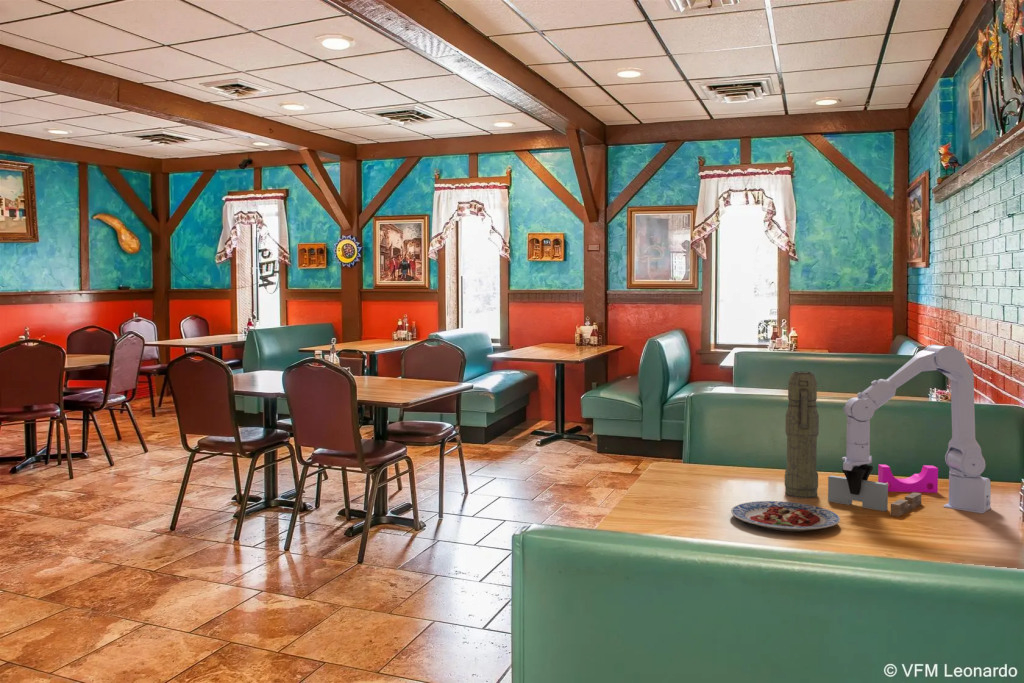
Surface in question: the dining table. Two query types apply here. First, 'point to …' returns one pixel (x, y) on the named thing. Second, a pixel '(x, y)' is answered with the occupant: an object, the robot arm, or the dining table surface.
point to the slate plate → (870, 493)
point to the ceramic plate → (785, 515)
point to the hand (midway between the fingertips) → (857, 493)
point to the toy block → (910, 480)
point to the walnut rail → (906, 504)
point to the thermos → (802, 436)
